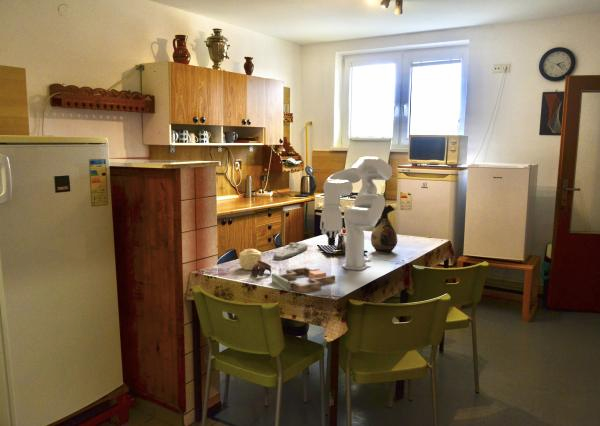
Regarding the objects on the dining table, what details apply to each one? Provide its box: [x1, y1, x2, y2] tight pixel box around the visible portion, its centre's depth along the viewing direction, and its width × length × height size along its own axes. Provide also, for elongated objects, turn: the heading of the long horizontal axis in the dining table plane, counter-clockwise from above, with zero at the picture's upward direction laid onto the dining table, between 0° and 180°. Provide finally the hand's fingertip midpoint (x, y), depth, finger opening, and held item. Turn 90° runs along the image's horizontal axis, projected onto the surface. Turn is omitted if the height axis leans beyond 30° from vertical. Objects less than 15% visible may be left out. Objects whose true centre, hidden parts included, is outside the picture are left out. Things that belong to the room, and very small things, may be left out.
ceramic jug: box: [370, 204, 398, 255], centre depth 289 cm, size 17×15×30 cm
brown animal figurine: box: [250, 260, 272, 278], centre depth 241 cm, size 12×10×8 cm
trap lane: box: [271, 266, 336, 294], centre depth 230 cm, size 26×27×4 cm
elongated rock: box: [272, 241, 308, 261], centre depth 288 cm, size 35×5×10 cm
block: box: [308, 269, 327, 281], centre depth 234 cm, size 6×6×4 cm
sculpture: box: [238, 248, 263, 271], centre depth 254 cm, size 12×12×11 cm
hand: (331, 245), depth 235 cm, fingers closed
